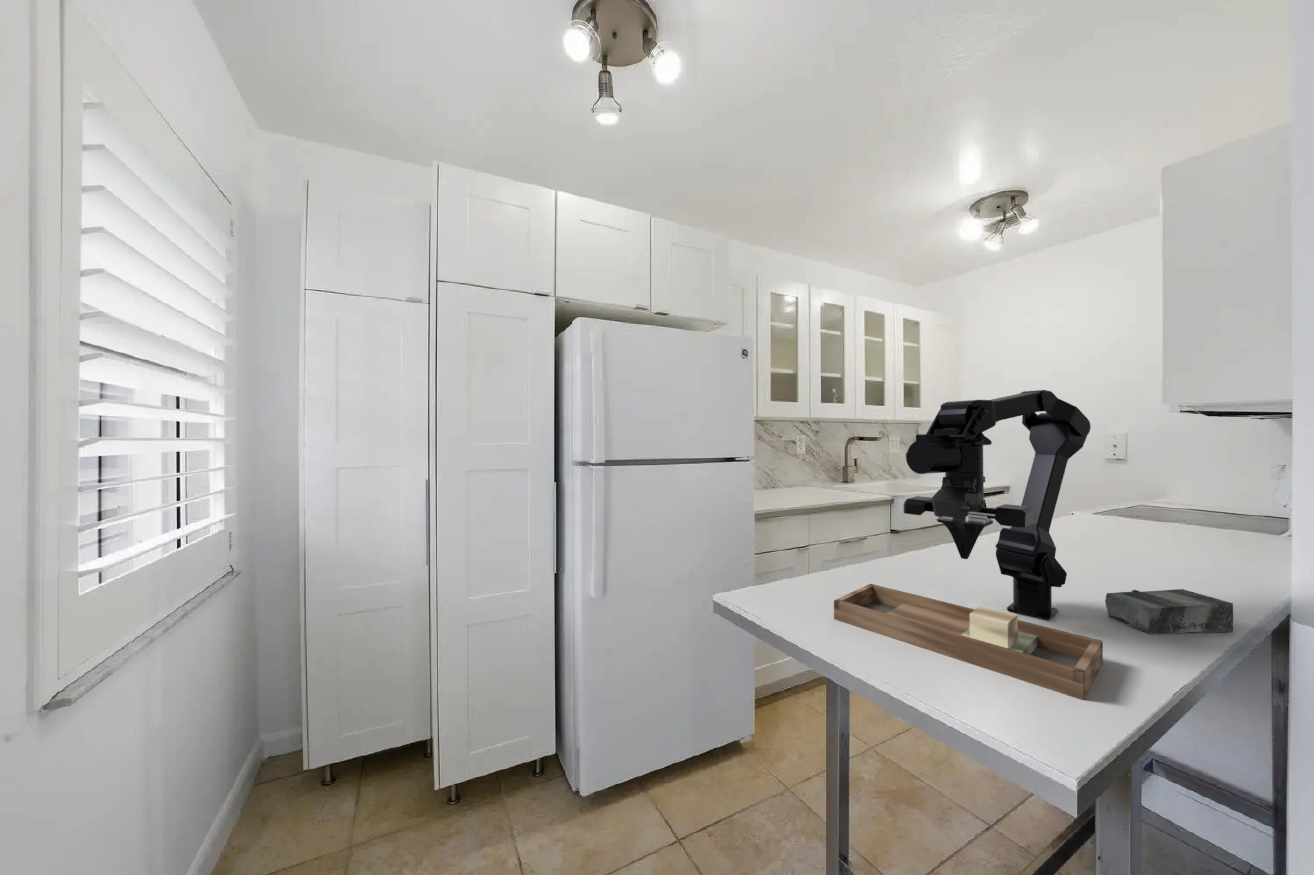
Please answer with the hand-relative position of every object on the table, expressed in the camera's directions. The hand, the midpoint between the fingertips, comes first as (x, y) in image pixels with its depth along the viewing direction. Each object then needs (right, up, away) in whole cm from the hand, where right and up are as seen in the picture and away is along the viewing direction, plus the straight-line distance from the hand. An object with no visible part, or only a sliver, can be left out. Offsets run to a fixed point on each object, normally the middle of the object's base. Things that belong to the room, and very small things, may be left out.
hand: (964, 558), depth 84 cm
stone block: (+35, -12, 0) cm, 37 cm away
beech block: (-2, -10, -10) cm, 14 cm away
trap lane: (-5, -12, -5) cm, 14 cm away
